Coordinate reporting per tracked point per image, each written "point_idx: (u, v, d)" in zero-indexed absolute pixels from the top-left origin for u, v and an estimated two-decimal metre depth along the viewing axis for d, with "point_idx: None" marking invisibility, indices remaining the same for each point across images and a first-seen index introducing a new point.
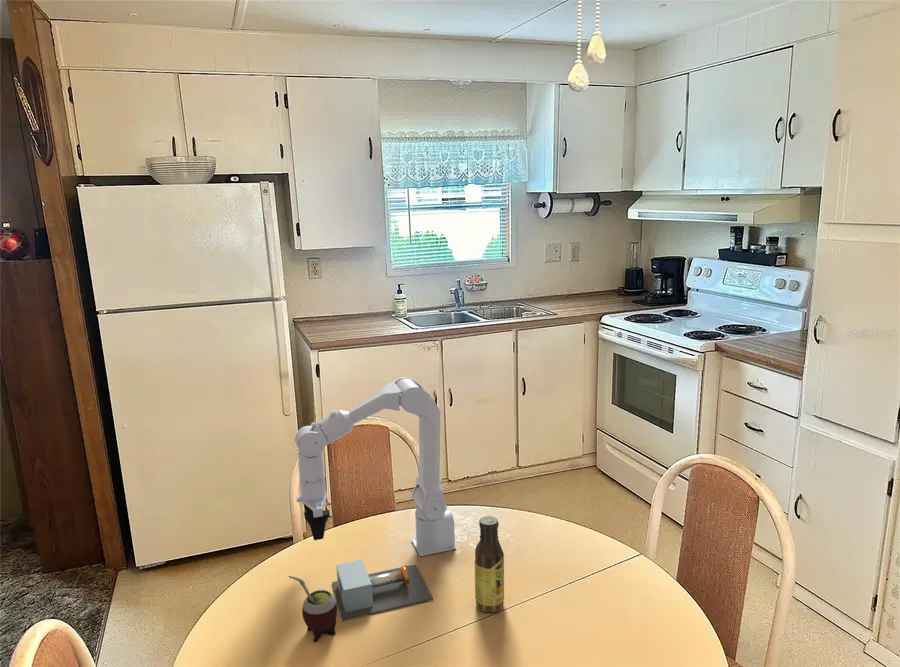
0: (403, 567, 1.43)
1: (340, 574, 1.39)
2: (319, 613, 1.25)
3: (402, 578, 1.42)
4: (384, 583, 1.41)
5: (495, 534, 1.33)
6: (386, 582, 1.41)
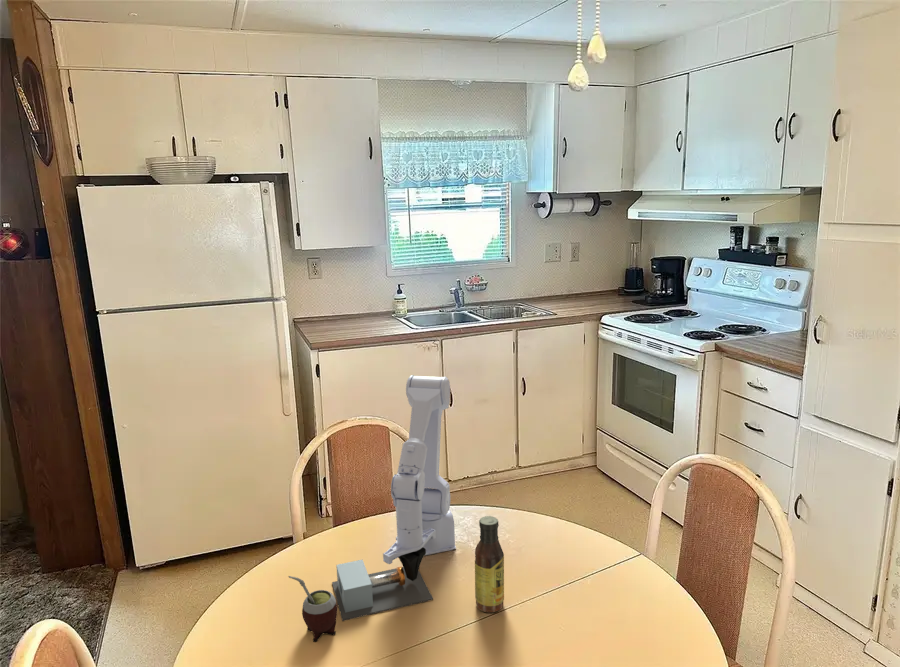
0: (399, 568, 1.43)
1: (340, 574, 1.39)
2: (319, 613, 1.25)
3: (398, 579, 1.42)
4: (380, 584, 1.41)
5: (495, 534, 1.33)
6: (382, 583, 1.41)
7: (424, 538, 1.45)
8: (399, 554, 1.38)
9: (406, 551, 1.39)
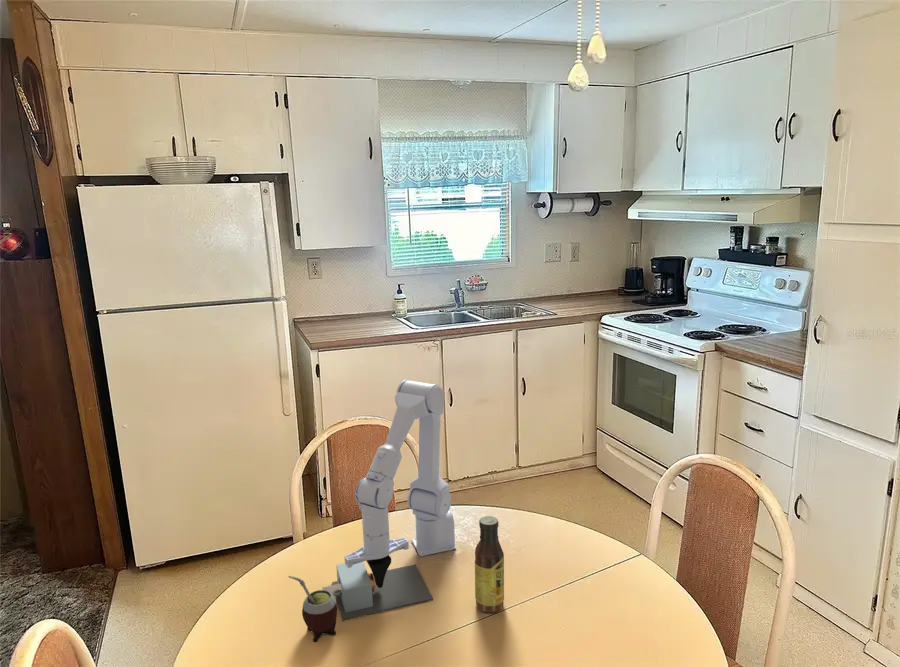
0: (369, 574, 1.41)
1: (340, 574, 1.39)
2: (319, 613, 1.25)
3: None
4: None
5: (495, 534, 1.33)
6: None
7: (393, 547, 1.41)
8: (359, 559, 1.37)
9: (367, 557, 1.37)
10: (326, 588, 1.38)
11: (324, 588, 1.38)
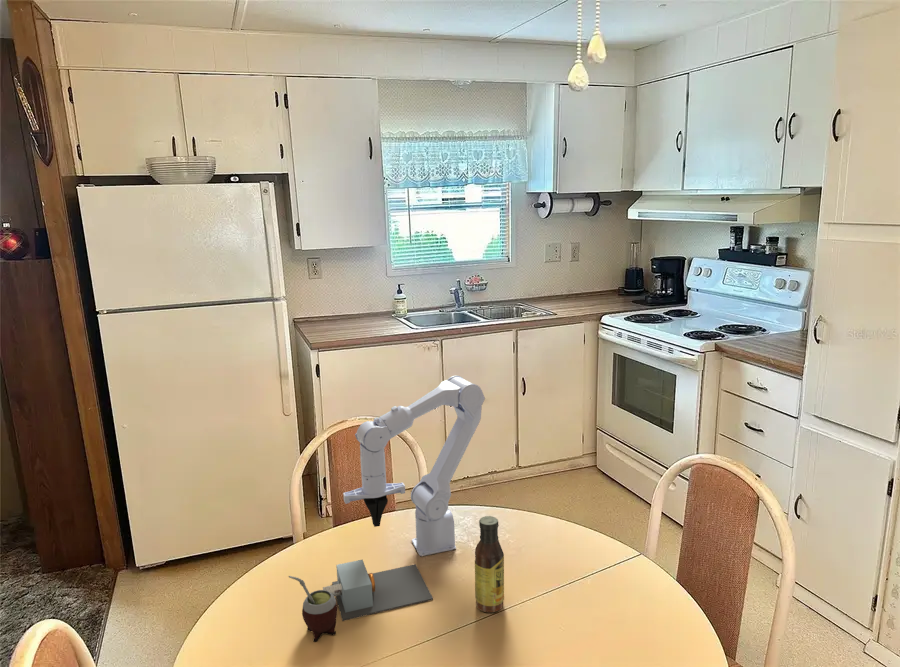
0: (369, 574, 1.41)
1: (340, 574, 1.39)
2: (319, 613, 1.25)
3: None
4: None
5: (495, 534, 1.33)
6: None
7: (390, 490, 1.51)
8: (356, 497, 1.47)
9: (363, 496, 1.47)
10: (327, 588, 1.38)
11: (325, 588, 1.38)
